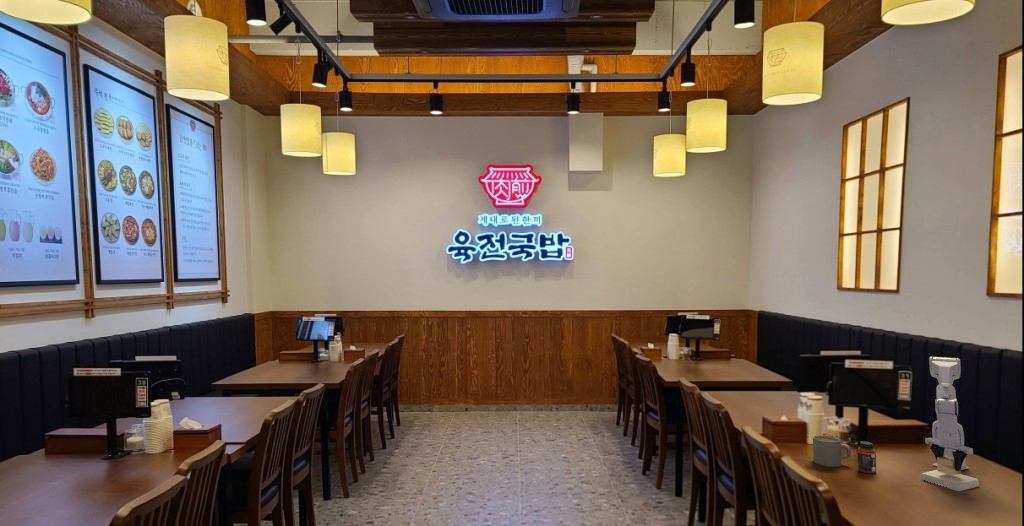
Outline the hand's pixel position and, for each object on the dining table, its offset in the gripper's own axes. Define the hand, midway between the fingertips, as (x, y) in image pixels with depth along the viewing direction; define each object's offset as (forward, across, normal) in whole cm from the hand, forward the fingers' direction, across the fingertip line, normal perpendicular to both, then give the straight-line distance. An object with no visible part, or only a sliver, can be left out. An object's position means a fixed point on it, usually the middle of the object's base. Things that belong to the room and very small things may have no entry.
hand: (949, 468), depth 196 cm
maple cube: (+2, 0, 0) cm, 2 cm away
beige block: (+6, 0, 0) cm, 6 cm away
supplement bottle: (+6, -20, -16) cm, 26 cm away
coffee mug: (+6, -32, -20) cm, 38 cm away
